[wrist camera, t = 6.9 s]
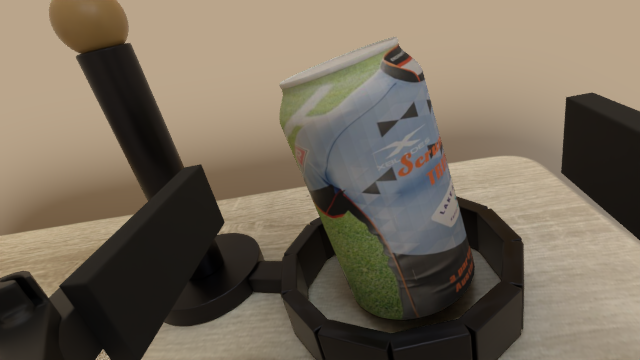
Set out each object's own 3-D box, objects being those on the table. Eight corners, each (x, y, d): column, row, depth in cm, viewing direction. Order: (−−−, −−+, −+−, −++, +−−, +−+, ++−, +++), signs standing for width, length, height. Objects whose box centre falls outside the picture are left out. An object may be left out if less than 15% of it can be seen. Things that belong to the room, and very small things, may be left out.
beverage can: (480, 346, 15) (463, 38, 9) (314, 329, 17) (232, 83, 12) (472, 248, 20) (458, 16, 15) (345, 247, 22) (297, 51, 17)
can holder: (586, 357, 13) (674, -305, 6) (73, 466, 14) (-379, -10, 7) (448, 195, 25) (423, -93, 18) (175, 259, 26) (48, 6, 19)
